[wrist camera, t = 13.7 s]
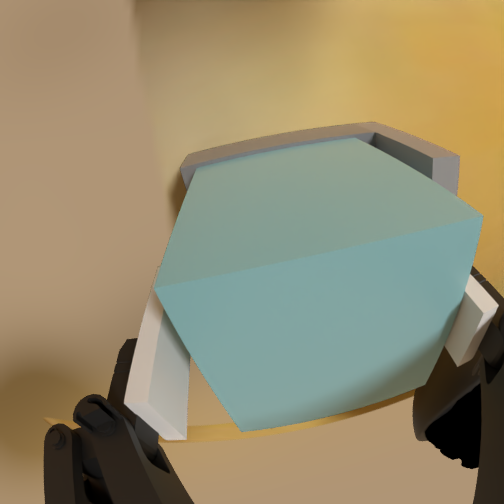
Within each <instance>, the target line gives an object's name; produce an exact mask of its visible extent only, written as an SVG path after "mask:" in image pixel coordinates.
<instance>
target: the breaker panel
mask: <svg viewBox="0 0 504 504" xmlns="http://www.w3.org/2000/svg"><path fill="white" fill-rule="evenodd" d="M349 138H357V139H359V140H361V141H363V142H365V143H367V144H369V145H371V146H373V147H375V148H377V149H379V150H381V151H383V152H385V153H386V154H388V155H390V156H392V157H394V158H396V159H397V160H399V161H401V162H403V163H405V164H406V165H408V166H410V167H411V168H413V169H415V170H417V171H418V172H420V173H422V174H423V175H425V176H426V177H428V178H430V179H431V180H433V181H434V182H436V183H438V184H439V185H441V186H442V187H444V188H445V189H447V190H448V191H450V192H451V193H453V194H454V195H456V196H457V190H458V178H459V162H460V156H459V155H457V154H455V153H453V152H451V151H448V150H446V149H444V148H442V147H440V146H437V145H435V144H433V143H430V142H428V141H425V140H423V139H421V138H418V137H416V136H413V135H410V134H408V133H405V132H403V131H400V130H397V129H394V128H391V127H389V126H386V125H383V124H380V123H377V122H366V123H355V124H346V125H337V126H329V127H321V128H314V129H307V130H300V131H294V132H288V133H282V134H277V135H271V136H266V137H261V138H256V139H251V140H246V141H241V142H237V143H232V144H228V145H224V146H219V147H215V148H211V149H207V150H203V151H199V152H196V153H192V154H188V156H187V157H186V159H185V160H184V162H183V164H182V165H181V167H180V171H181V174H182V177H183V180H184V184H185V187H186V190H187V191H188V188H189V186H190V183H191V181H192V178H193V176H194V173H195V171H196V168H199V167H202V166H206V165H210V164H214V163H219V162H223V161H227V160H231V159H236V158H240V157H245V156H249V155H254V154H259V153H264V152H269V151H274V150H279V149H284V148H290V147H295V146H301V145H307V144H314V143H320V142H327V141H334V140H341V139H349Z"/></svg>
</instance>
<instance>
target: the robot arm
mask: <svg viewBox="0 0 504 504" xmlns="http://www.w3.org/2000/svg"><path fill="white" fill-rule="evenodd" d="M159 269H160V266H159V267H158V268H157V271H156V274H155V277H154V281H153V284H152V288H151V291H150V294H149V298H148V302H147V306H146V309H145V313H144V316H143V320H142V324H141V328H140V331H139V336H138V338H134V339H127V340H126V342H125V343H124V345H123V346H122V348H121V349H120V351H119V354H118V358H117V364H116V366H115V370H114V374H113V377H112V381H111V385H110V390H109V394H108V398H107V400H106V399H105V398H104V397H102V396H101V395H97V394H92V395H88V396H86V397H84V398H83V399H82V400H80V402H79V403H78V404H77V406H76V408H75V410H74V413H73V421H74V422H75V423H77V424H78V425H79V426H81V428H77V429H74V430H72V429H70V428H69V427H68V426H66V425H64V424H59V423H58V424H56V425H53V426H52V427H51V428H50V429H49V430H48V432H47V434H46V436H45V441H44V493H45V504H194V502H193V501H192V499H191V498H190V496H189V495H188V493H187V491H186V490H185V488H184V486H183V485H182V483H181V481H180V480H179V478H178V476H177V474H176V473H175V471H174V469H173V467H172V465H171V463H170V462H169V460H168V458H167V457H166V454H165V452H164V450H163V449H162V447H161V446H160V445H159V444H158V436H159V435H160V436H161V437H163V438H164V439H165V440H187V410H188V388H189V371H190V353H189V352H188V350H187V348H186V347H185V345H184V343H183V341H182V340H181V338H180V336H179V334H178V333H177V331H176V329H175V327H174V326H173V324H172V322H171V320H170V318H169V317H168V315H167V313H166V311H165V309H164V307H163V305H162V304H161V302H160V300H159V298H158V296H157V294H156V292H155V290H154V285H155V282H156V279H157V276H158V273H159ZM444 346H445V347H446V349H447V351H448V352H449V354H450V355H451V357H452V359H453V360H454V362H455V363H456V365H457V367H458V366H460V365H462V364H464V363H466V362H468V361H469V360H471V359H472V358H473V357H474V355H475V353H476V351H477V349H479V351H480V352H481V354H482V355H481V357H480V358H479V360H478V362H477V363H476V365H475V367H474V369H473V370H472V375H475V373H476V372H477V370H478V369H480V370H479V372H478V375H480V382H481V405H482V424H481V447H480V459H479V469H478V477H477V484H476V490H475V496H474V501H473V504H504V298H503V297H502V296H501V295H500V294H499V293H498V292H497V290H496V289H495V288H494V287H493V286H492V285H491V284H490V283H489V282H488V281H486V279H485V278H484V277H483V276H482V275H481V274H480V273H479V272H478V271H477V270H476V269H475V268H474V267H473V266H472V268H471V272H470V275H469V279H468V282H467V285H466V288H465V292H464V295H463V298H462V301H461V304H460V306H459V309H458V312H457V315H456V317H455V320H454V323H453V325H452V328H451V330H450V333H449V335H448V337H447V340H446V342H445V344H444Z"/></svg>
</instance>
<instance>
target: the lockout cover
mask: <svg viewBox="0 0 504 504" xmlns="http://www.w3.org/2000/svg"><path fill="white" fill-rule="evenodd" d="M482 221H483V215H482V214H481V213H479V212H478V211H477V210H475V209H474V208H472V207H471V206H470V205H468V204H467V203H466V202H464V201H463V200H461V199H460V198H458V197H457V196H456V195H454V194H453V193H451V192H450V191H448V190H447V189H445V188H444V187H442V186H441V185H439V184H438V183H436V182H434V181H433V180H431V179H430V178H428V177H426V176H425V175H423V174H422V173H420V172H418V171H417V170H415V169H413V168H411V167H410V166H408V165H406V164H405V163H403V162H401V161H399V160H397V159H396V158H394V157H392V156H390V155H388V154H386V153H385V152H383V151H381V150H379V149H377V148H375V147H373V146H371V145H369V144H367V143H365V142H363V141H361V140H359V139H357V138H349V139H341V140H334V141H327V142H320V143H314V144H307V145H301V146H295V147H290V148H284V149H279V150H274V151H269V152H264V153H259V154H254V155H249V156H245V157H240V158H236V159H231V160H227V161H223V162H219V163H214V164H210V165H206V166H202V167H199V168H196V171H195V173H194V176H193V178H192V181H191V183H190V186H189V188H188V191H187V193H186V196H185V199H184V201H183V204H182V207H181V209H180V212H179V215H178V217H177V220H176V223H175V226H174V228H173V231H172V234H171V237H170V240H169V242H168V246H167V248H166V251H165V255H164V257H163V261H162V263H161V266H160V269H159V273H158V276H157V279H156V282H155V285H154V290H155V292H156V294H157V296H158V298H159V300H160V302H161V304H162V305H163V307H164V309H165V311H166V313H167V315H168V317H169V318H170V320H171V322H172V324H173V326H174V327H175V329H176V331H177V333H178V334H179V336H180V338H181V340H182V341H183V343H184V345H185V347H186V348H187V350H188V352H189V353H190V355H191V357H192V358H193V360H194V362H195V363H196V365H197V367H198V368H199V370H200V371H201V373H202V375H203V376H204V378H205V379H206V381H207V382H208V384H209V385H210V387H211V388H212V390H213V392H214V393H215V395H216V396H217V398H218V399H219V401H220V402H221V403H222V405H223V407H224V408H225V409H226V411H227V412H228V414H229V415H230V417H231V418H232V420H233V421H234V422H235V424H236V425H237V427H238V428H239V429H240V431H241V432H246V431H254V430H262V429H268V428H275V427H281V426H286V425H292V424H297V423H302V422H307V421H312V420H316V419H320V418H325V417H329V416H333V415H337V414H340V413H344V412H348V411H351V410H355V409H358V408H362V407H365V406H368V405H371V404H374V403H377V402H380V401H383V400H386V399H389V398H392V397H395V396H398V395H400V394H403V393H406V392H408V391H411V390H413V389H416V388H418V387H421V386H423V385H425V384H426V382H427V380H428V378H429V376H430V374H431V372H432V370H433V368H434V366H435V364H436V362H437V360H438V358H439V356H440V353H441V351H442V349H443V347H444V344H445V342H446V340H447V337H448V335H449V333H450V330H451V328H452V325H453V323H454V320H455V317H456V315H457V312H458V309H459V306H460V304H461V301H462V298H463V295H464V292H465V288H466V285H467V282H468V279H469V275H470V272H471V268H472V265H473V261H474V257H475V253H476V249H477V245H478V240H479V236H480V231H481V226H482Z"/></svg>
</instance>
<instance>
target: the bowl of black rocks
mask: <svg viewBox="0 0 504 504" xmlns="http://www.w3.org/2000/svg"><path fill="white" fill-rule="evenodd" d="M481 355H482V354H481V352H480V351H479V349H477V351H476V353H475V355H474V357H473V358H472V359H471V360H469V361H468V362H466V363H464V364H462V365H460V366H458V367H457V365H456V363H455V362H454V360H453V359H452V357H451V355H450V354H449V352H448V351H447V349H446V347H445V346H444V347H443V349H442V351H441V353H440V356H439V358H438V360H437V362H436V364H435V366H434V368H433V370H432V372H431V374H430V376H429V378H428V380H427V382H426V384H425V385H423V386H421V387H418V388H416V390H415V395H414V400H413V426H414V432H415V436H416V438H417V440H419V441H429V442H431V443H432V444H433V445H434V446H435V447H436V448H438V449H440V452H441V453H442V454H443V455H445V456H446V457H448V458H450V459H452V460H454V459H458V458H459V459H461V460H462V464H461V465H462V466H463V467H466V468H470V469H473V468H478V467H479V459H480V447H481V424H482V405H481V382H480V375H478V372H479V370H480V369H478V370H477V372H476V373H475V375H472V370H473V369H474V367H475V365H476V363H477V362H478V360H479V358H480V357H481Z"/></svg>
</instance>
